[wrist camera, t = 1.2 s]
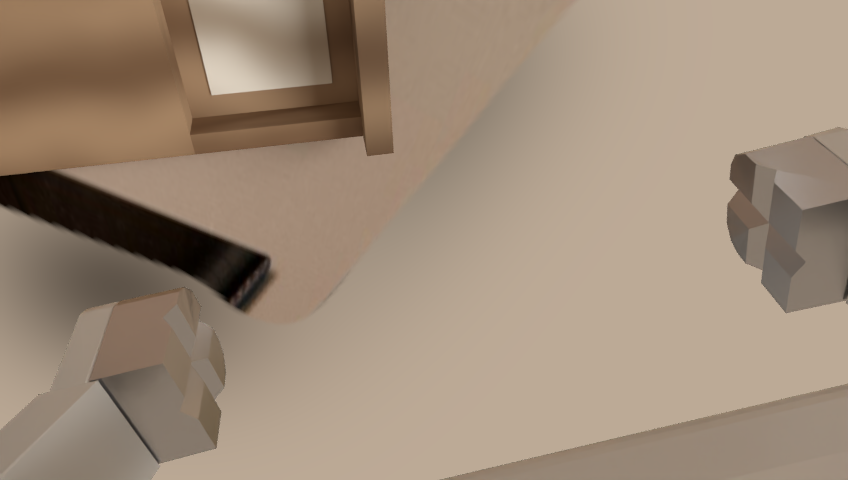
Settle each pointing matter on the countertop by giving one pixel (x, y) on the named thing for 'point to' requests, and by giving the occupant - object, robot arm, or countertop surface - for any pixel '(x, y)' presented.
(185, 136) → the rail
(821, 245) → the robot arm
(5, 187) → the countertop surface
